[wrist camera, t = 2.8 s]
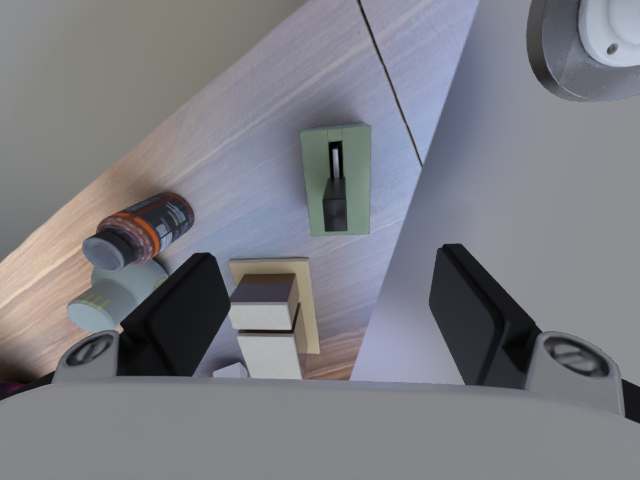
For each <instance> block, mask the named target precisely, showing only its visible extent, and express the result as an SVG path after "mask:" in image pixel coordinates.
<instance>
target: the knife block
mask: <svg viewBox="0 0 640 480" xmlns="http://www.w3.org/2000/svg"><path fill="white" fill-rule="evenodd" d="M299 133H300V142H301V150H302V159H303V167H304V176H305V184H306V193H307V202H308V210H309V219H310V227H311V236H329V235H357V234H370V165H371V125H368V124H366V123H356V124H346V125H335V126H324V127H314V128H309V129H306V130H303V131H301V132H299ZM335 141H339V150H340V172H341V177H346V195H347V225H348V230H347V231H339V232H325V228H324V217H323V205H322V199H323V195H324V191H325V187H326V183H327V179H328V178H334V163H333V148H334V144H335Z"/></svg>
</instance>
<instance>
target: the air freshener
mask: <svg viewBox="0 0 640 480" xmlns="http://www.w3.org/2000/svg"><path fill="white" fill-rule="evenodd" d="M167 278H168V275H167V273H166V272H165V270H164V269H163V268H162V267H161V266H160V265H159V264H158V263H157V262H155V261H154V260H152V259H150V260H149V261H147V262H145V263H142V264H139V265H130V264H129V265H127V266H125V267H124V268H122V269H121V270H119V271H116V272H109V271H105V270H102V269H100V268H98V267H96V266H95V267H94V269H93V272H92V276H91V285H92V287H91V288H90V289H88V290H87V291H85V292H84V293H82V294H81V295H80V296H78V297H77V298H75V299H74V300H72V301H71V302H70V303H69V304H68V306H67V313H68V316H69V317H70V319H71V320H72V321H73V322H74V323H75V324H76V325H78V326H79V327H81V328H82V329H84V330H86V331H89V332H92V333H97V332H100V331H105V330H114V329H115V328H116V327H117V326H118V325H119V324H120V322H121V321H122V320H123V319H124V318H126V317H127V316H128V315H129V314H130V313H131V312H132V311H133V310H134V309H135V308H136V307H137V306H138V305H139V304H141V303H142V302H143V301H144V300H145V299H146V298H147V297H148V296H149V295H150V294H151V293H152V292H153V291H154V290H156V289H157V288H158V287H159V286H160V285H161V284H162V283H163V282H164V281H165V280H166V279H167Z"/></svg>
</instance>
